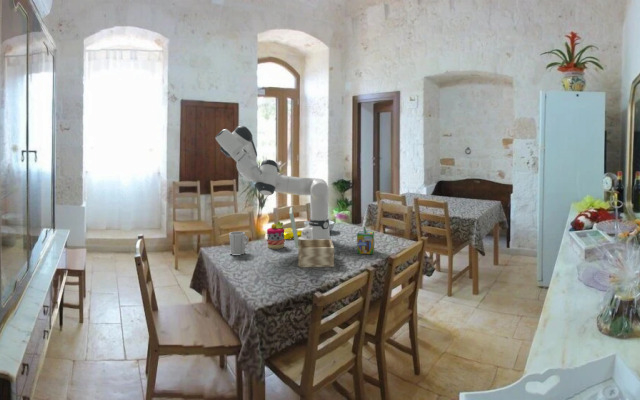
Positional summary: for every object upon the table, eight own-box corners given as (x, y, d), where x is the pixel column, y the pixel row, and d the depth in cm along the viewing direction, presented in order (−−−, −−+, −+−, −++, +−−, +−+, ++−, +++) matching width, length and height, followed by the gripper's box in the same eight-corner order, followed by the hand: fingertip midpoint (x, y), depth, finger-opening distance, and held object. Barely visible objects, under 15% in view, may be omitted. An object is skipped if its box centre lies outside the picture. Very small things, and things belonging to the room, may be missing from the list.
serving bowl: (337, 234, 314) (337, 224, 313) (306, 235, 311) (306, 225, 310) (331, 228, 335) (331, 219, 334) (302, 229, 331) (302, 220, 330)
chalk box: (373, 254, 259) (373, 228, 257) (356, 254, 261) (356, 228, 259) (374, 250, 268) (374, 225, 266) (358, 250, 270) (358, 225, 268)
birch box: (298, 267, 235) (298, 248, 234) (298, 257, 255) (298, 239, 254) (334, 266, 236) (334, 247, 235) (331, 256, 256) (331, 239, 255)
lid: (298, 248, 234) (295, 248, 234) (298, 239, 254) (295, 239, 254) (291, 213, 232) (288, 213, 232) (292, 207, 251) (289, 207, 251)
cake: (278, 249, 272) (277, 224, 270) (263, 247, 277) (263, 223, 275) (288, 246, 281) (287, 221, 279) (273, 244, 286) (273, 220, 284)
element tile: (289, 233, 319) (289, 226, 318) (304, 237, 308) (304, 230, 307) (272, 237, 309) (272, 229, 308) (286, 240, 298) (286, 233, 297)
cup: (234, 251, 270) (233, 230, 268) (249, 251, 268) (248, 231, 266) (227, 255, 260) (226, 234, 258) (242, 256, 258) (242, 235, 256)
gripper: (240, 159, 250) (259, 177, 251) (233, 159, 229) (253, 179, 230) (249, 151, 249) (267, 169, 250) (242, 150, 229) (262, 170, 230)
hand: (260, 174), depth 240 cm, fingers open, 8 cm apart
